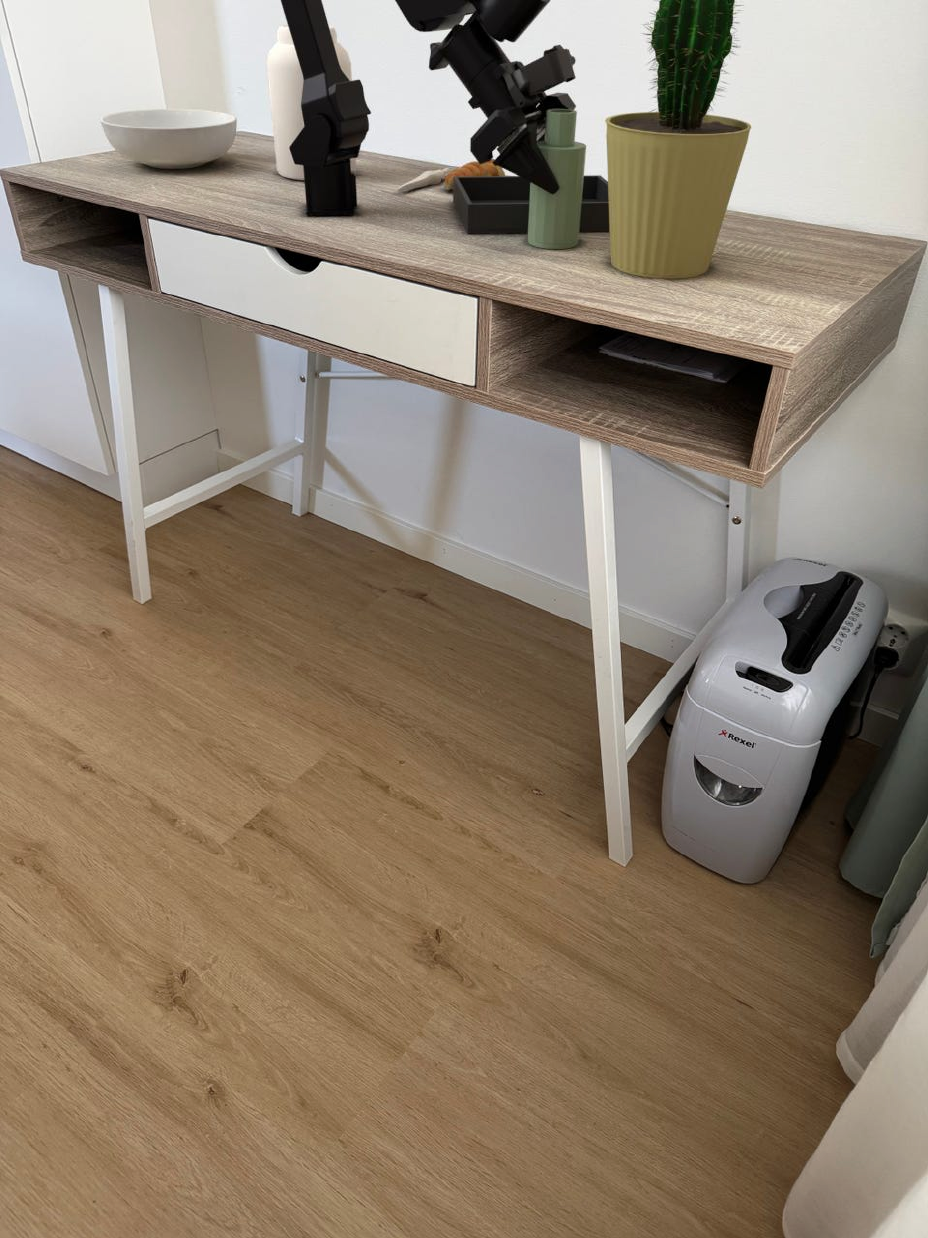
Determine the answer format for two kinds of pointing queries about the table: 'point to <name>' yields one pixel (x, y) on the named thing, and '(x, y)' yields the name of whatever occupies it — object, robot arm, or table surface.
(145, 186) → the table surface
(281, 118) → the cream vase
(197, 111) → the serving bowl
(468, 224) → the tray
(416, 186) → the parsnip
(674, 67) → the potted cactus
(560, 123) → the bottle
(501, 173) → the pastry
